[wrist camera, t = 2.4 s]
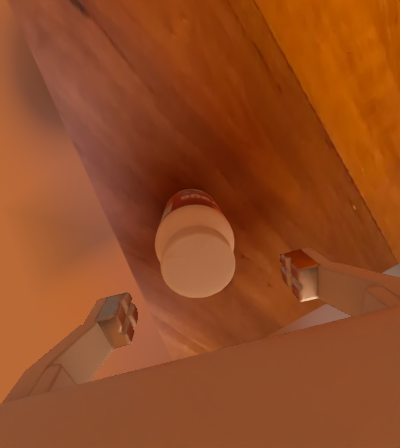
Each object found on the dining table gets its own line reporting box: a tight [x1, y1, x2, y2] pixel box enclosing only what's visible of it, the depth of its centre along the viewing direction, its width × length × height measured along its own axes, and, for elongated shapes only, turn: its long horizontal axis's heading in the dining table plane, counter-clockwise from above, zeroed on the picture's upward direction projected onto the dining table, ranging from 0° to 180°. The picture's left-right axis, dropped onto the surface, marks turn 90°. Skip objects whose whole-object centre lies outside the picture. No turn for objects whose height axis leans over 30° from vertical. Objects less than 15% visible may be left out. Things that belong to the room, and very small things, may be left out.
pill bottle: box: [155, 189, 235, 298], centre depth 17 cm, size 6×6×11 cm
